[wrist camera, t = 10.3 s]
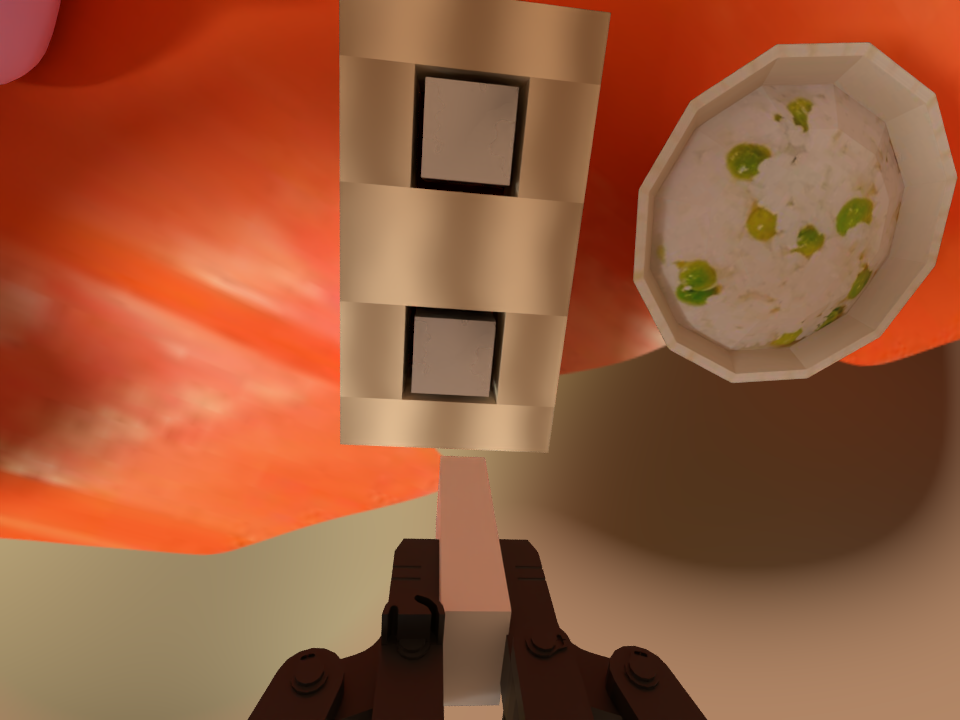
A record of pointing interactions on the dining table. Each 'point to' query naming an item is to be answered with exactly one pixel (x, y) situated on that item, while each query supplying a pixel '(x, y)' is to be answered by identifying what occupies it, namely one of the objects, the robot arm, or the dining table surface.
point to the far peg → (452, 351)
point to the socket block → (460, 213)
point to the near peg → (468, 132)
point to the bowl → (793, 211)
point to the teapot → (24, 35)
